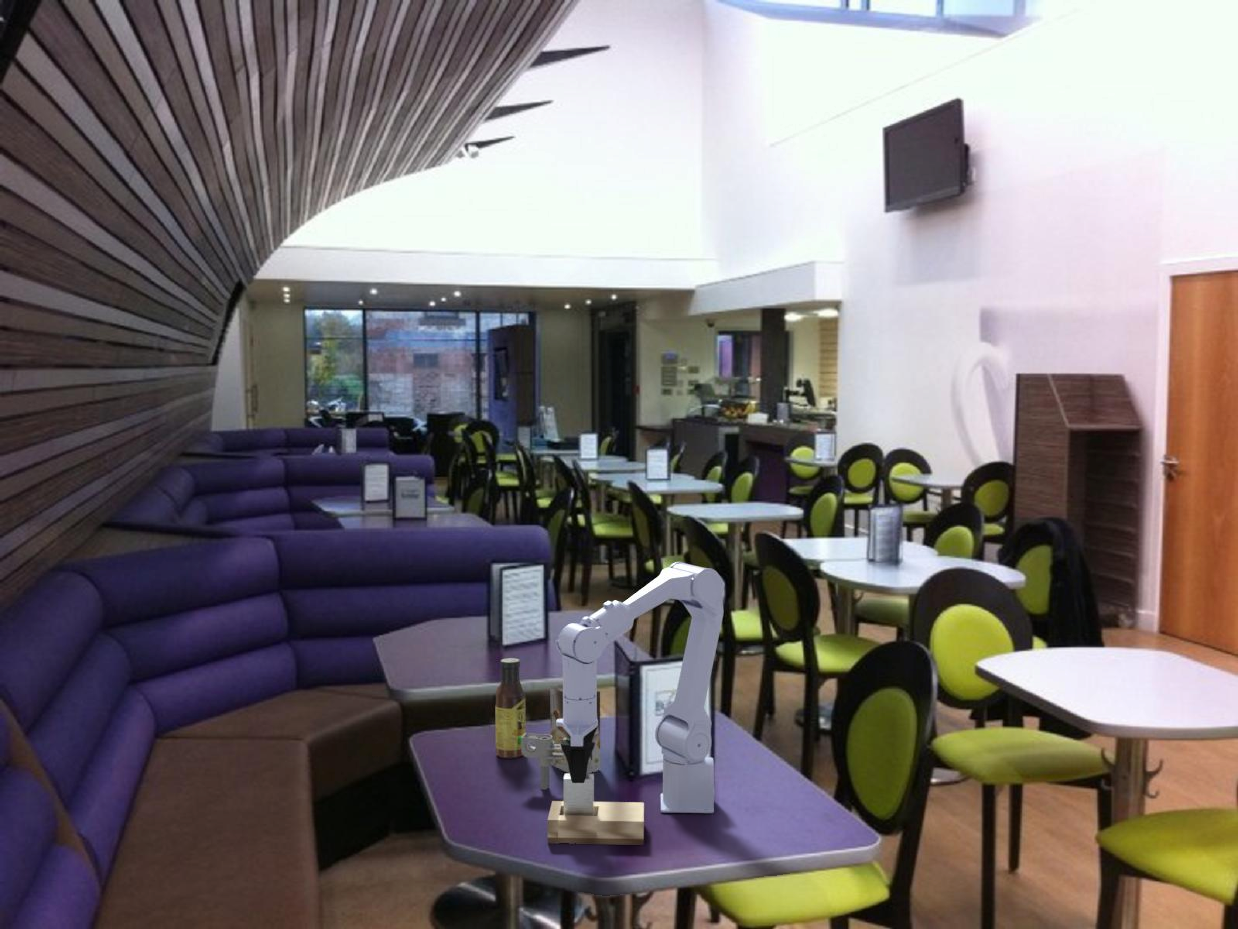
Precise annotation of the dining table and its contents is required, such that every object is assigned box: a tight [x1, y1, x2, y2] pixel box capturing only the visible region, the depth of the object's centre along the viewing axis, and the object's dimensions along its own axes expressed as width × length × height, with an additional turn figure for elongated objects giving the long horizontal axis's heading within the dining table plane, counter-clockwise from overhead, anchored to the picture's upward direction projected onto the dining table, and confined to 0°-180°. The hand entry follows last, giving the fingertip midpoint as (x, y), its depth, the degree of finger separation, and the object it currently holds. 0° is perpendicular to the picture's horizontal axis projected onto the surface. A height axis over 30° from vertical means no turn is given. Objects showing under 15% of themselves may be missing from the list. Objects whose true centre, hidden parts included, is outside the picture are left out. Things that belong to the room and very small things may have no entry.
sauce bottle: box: [494, 657, 527, 759], centre depth 214 cm, size 6×6×20 cm
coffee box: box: [549, 684, 601, 774], centre depth 206 cm, size 9×6×16 cm
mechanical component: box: [518, 732, 570, 791], centre depth 196 cm, size 3×10×10 cm, turn 79°
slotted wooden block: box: [547, 800, 645, 846], centre depth 176 cm, size 16×8×4 cm, turn 88°
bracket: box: [563, 773, 595, 816], centre depth 176 cm, size 5×2×9 cm, turn 88°
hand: (579, 773), depth 175 cm, fingers open, 7 cm apart
